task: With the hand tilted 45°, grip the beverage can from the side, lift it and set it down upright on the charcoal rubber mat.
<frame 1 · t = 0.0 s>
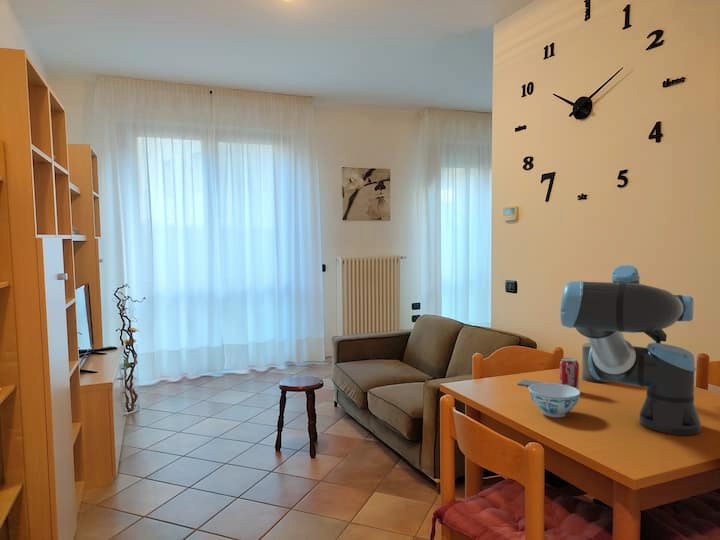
hand: (633, 350, 171), 15 cm above the table, tool tilted 35°, fingers open, 13 cm apart
chinaware: (553, 414, 152), on the table
beverage can: (568, 392, 174), on the table
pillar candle: (595, 380, 189), on the table
mat: (531, 384, 183), on the table
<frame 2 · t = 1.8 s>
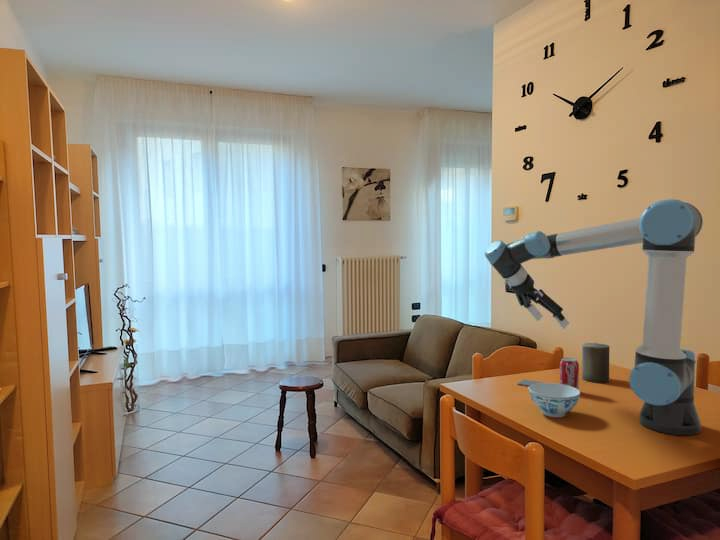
hand: (552, 322, 169), 26 cm above the table, tool tilted 45°, fingers open, 13 cm apart
nothing on the table moved.
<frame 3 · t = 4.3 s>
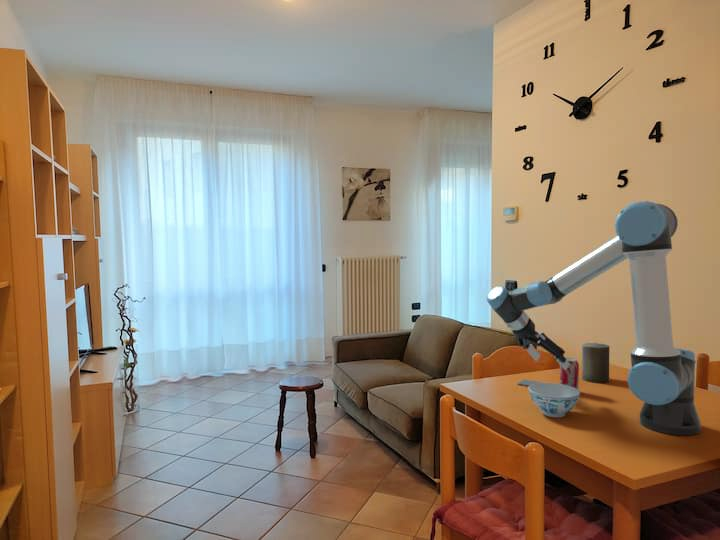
hand: (552, 362, 172), 11 cm above the table, tool tilted 45°, fingers open, 13 cm apart
nothing on the table moved.
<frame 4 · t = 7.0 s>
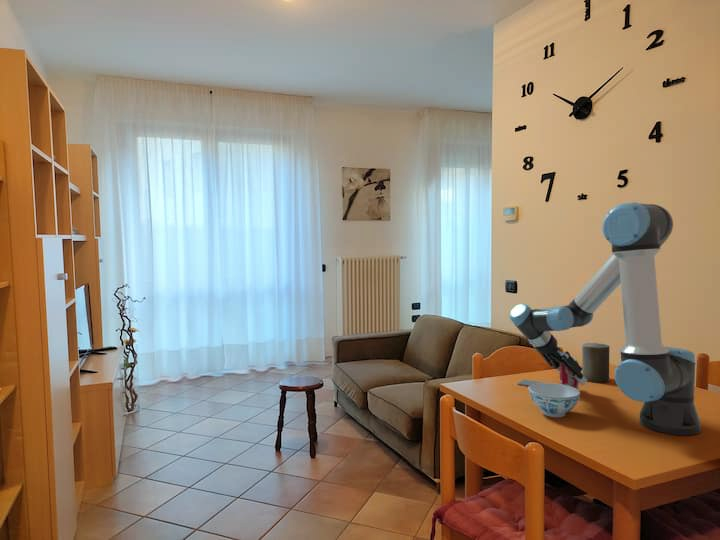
hand: (576, 380, 175), 4 cm above the table, tool tilted 45°, fingers closed on beverage can, 6 cm apart
beverage can: (568, 392, 174), on the table, touching gripper
everything else where it was.
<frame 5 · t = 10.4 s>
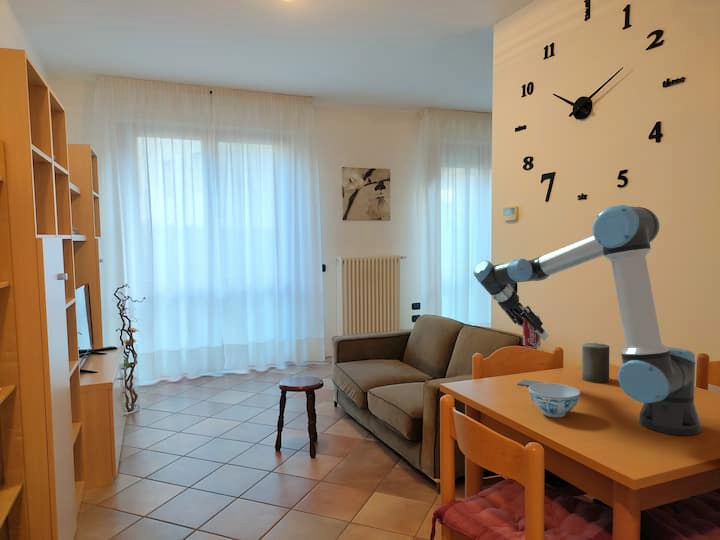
hand: (539, 336, 184), 18 cm above the table, tool tilted 45°, fingers closed on beverage can, 6 cm apart
beverage can: (531, 347, 183), point 14 cm above the table, touching gripper
everything else where it was.
when the fingers open (6 cm above the table, at t = 13.7 s): beverage can drops 1 cm, resting on mat.
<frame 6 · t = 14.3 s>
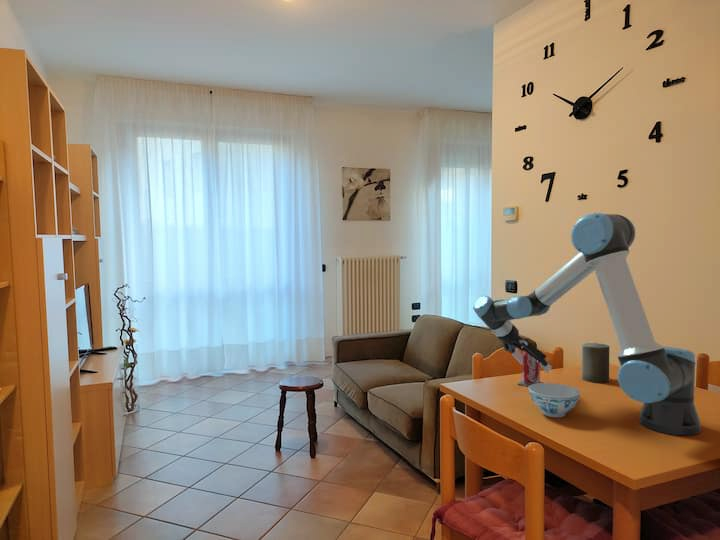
hand: (536, 365, 184), 7 cm above the table, tool tilted 45°, fingers open, 13 cm apart
beverage can: (531, 383, 183), resting on mat
everything else where it was.
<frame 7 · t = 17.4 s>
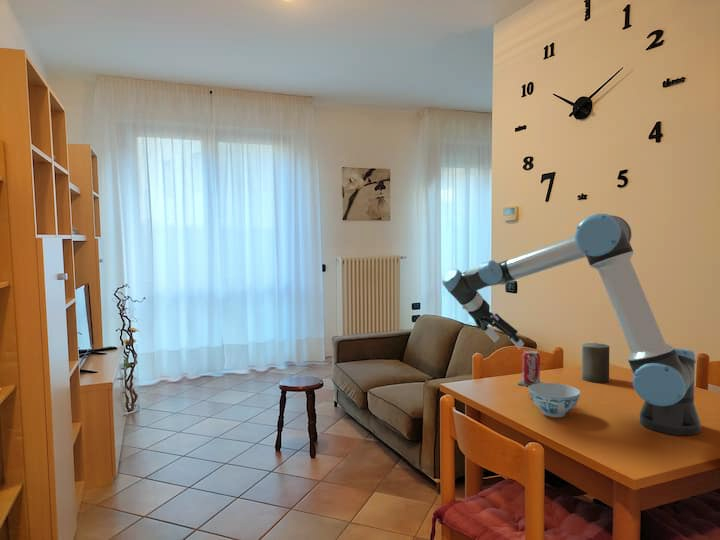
hand: (508, 342, 178), 17 cm above the table, tool tilted 45°, fingers open, 13 cm apart
nothing on the table moved.
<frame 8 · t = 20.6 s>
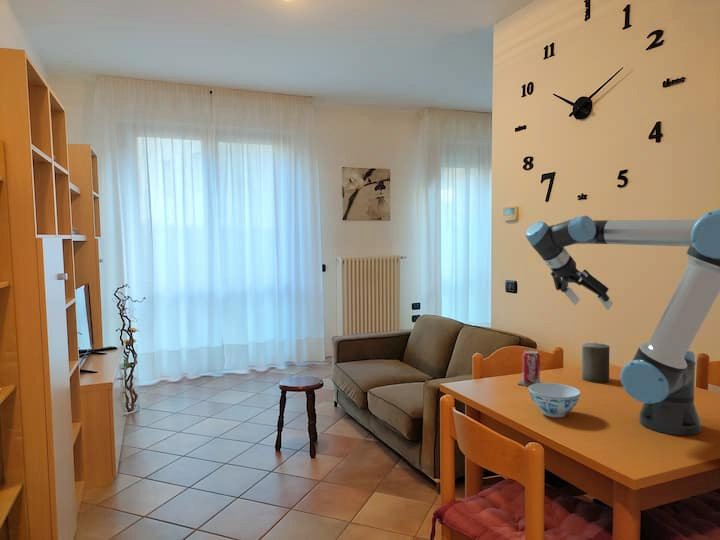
hand: (592, 304, 165), 33 cm above the table, tool tilted 45°, fingers open, 13 cm apart
nothing on the table moved.
at the end: beverage can 0.1 cm off-centre on the mat, point 0.4 cm above the mat's base; beverage can tilted 0°; the gripper is holding nothing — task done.
